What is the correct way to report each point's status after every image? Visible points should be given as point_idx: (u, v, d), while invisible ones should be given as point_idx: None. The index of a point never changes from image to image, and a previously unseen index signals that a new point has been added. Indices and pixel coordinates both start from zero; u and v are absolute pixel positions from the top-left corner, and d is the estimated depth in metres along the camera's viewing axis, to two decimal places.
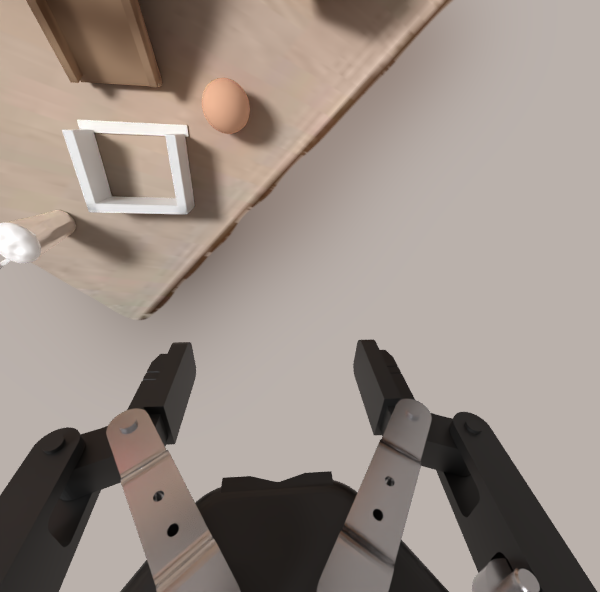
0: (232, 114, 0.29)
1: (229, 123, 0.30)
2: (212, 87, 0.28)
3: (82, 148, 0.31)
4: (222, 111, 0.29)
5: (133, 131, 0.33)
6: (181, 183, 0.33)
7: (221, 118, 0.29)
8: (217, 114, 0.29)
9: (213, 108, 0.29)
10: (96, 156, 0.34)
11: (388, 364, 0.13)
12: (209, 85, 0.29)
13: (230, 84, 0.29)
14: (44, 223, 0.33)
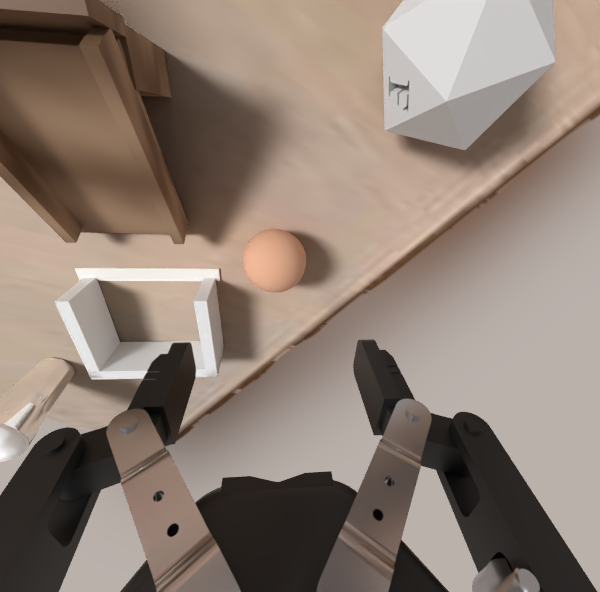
0: (286, 282, 0.21)
1: (281, 289, 0.22)
2: (262, 251, 0.21)
3: (82, 313, 0.23)
4: (274, 281, 0.21)
5: (149, 277, 0.25)
6: (212, 347, 0.25)
7: (271, 286, 0.22)
8: (266, 283, 0.21)
9: (261, 277, 0.21)
10: (101, 308, 0.26)
11: (388, 364, 0.13)
12: (256, 246, 0.21)
13: (285, 246, 0.21)
14: (32, 399, 0.25)
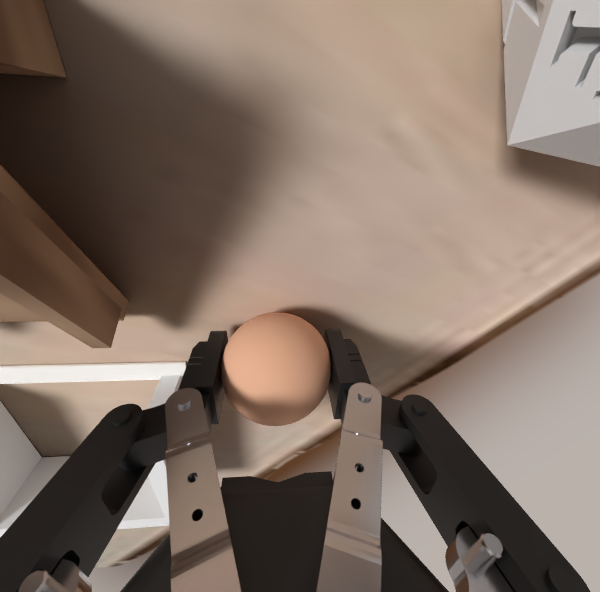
0: (298, 417, 0.12)
1: (287, 423, 0.12)
2: (252, 369, 0.11)
3: None
4: (275, 419, 0.11)
5: (72, 377, 0.16)
6: None
7: (270, 424, 0.12)
8: (261, 421, 0.12)
9: (252, 413, 0.11)
10: None
11: (351, 352, 0.13)
12: (242, 358, 0.11)
13: (296, 358, 0.11)
14: None
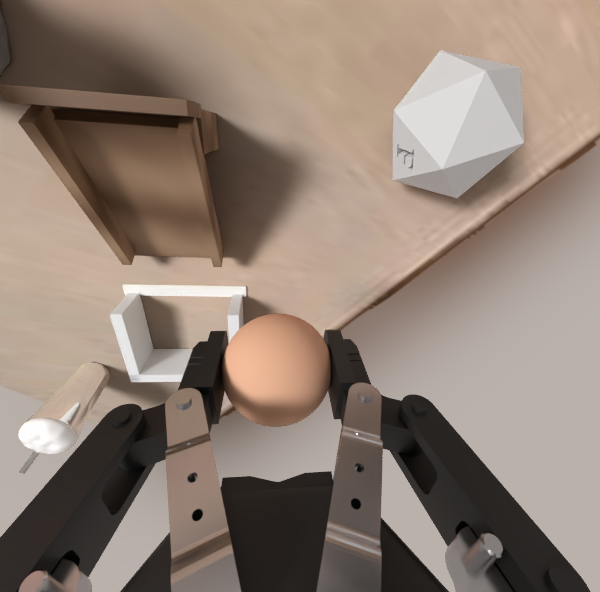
0: (299, 418, 0.12)
1: None
2: (253, 370, 0.11)
3: (130, 324, 0.27)
4: (276, 420, 0.11)
5: (185, 293, 0.29)
6: None
7: (271, 425, 0.12)
8: (262, 422, 0.12)
9: (253, 414, 0.11)
10: (141, 319, 0.29)
11: (351, 352, 0.13)
12: (243, 359, 0.11)
13: (296, 359, 0.11)
14: (80, 399, 0.29)
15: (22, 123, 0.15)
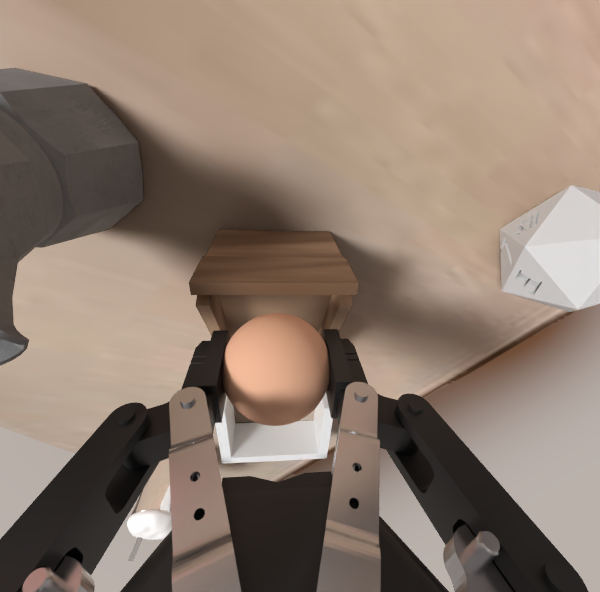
0: (298, 417, 0.12)
1: (287, 423, 0.12)
2: (253, 370, 0.11)
3: (227, 415, 0.28)
4: (275, 419, 0.11)
5: None
6: (328, 439, 0.30)
7: (270, 424, 0.12)
8: (261, 421, 0.12)
9: (252, 413, 0.11)
10: (231, 403, 0.30)
11: (348, 351, 0.13)
12: (243, 358, 0.11)
13: (296, 358, 0.11)
14: None
15: (197, 303, 0.15)
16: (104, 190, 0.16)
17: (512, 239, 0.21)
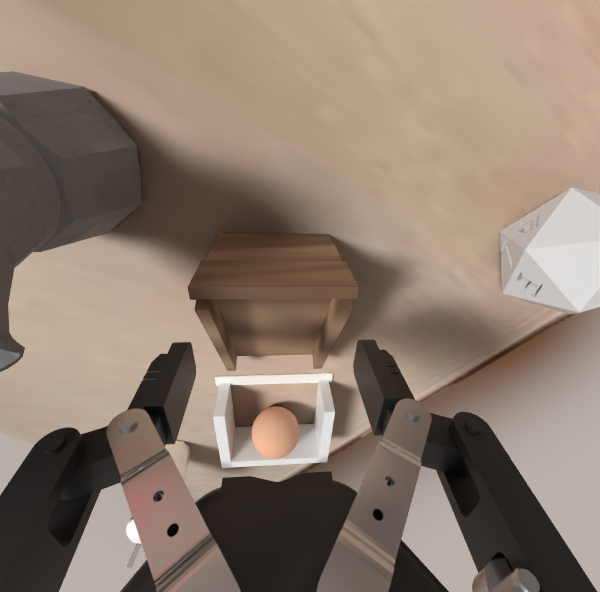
0: None
1: (279, 408, 0.30)
2: None
3: (227, 419, 0.28)
4: (274, 406, 0.31)
5: (274, 381, 0.30)
6: (329, 442, 0.29)
7: (272, 407, 0.31)
8: (269, 407, 0.31)
9: None
10: (231, 407, 0.30)
11: (388, 364, 0.13)
12: None
13: None
14: None
15: (195, 308, 0.15)
16: (102, 194, 0.16)
17: (512, 241, 0.21)
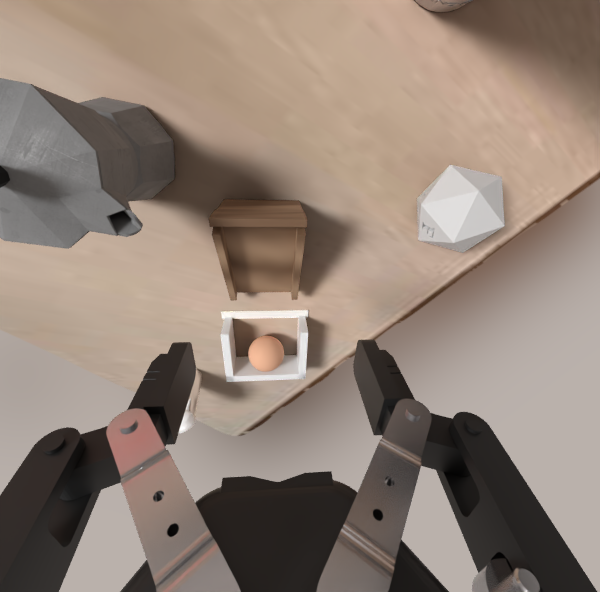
0: None
1: (269, 336, 0.41)
2: None
3: (230, 340, 0.38)
4: None
5: (264, 316, 0.40)
6: (305, 360, 0.40)
7: None
8: None
9: None
10: (233, 336, 0.40)
11: (388, 364, 0.13)
12: None
13: None
14: (192, 394, 0.40)
15: (212, 234, 0.25)
16: (155, 169, 0.26)
17: (419, 202, 0.31)
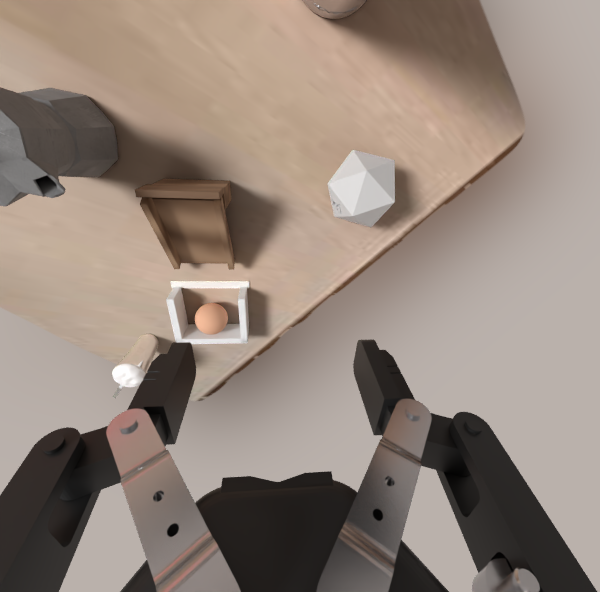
0: None
1: (214, 303, 0.46)
2: None
3: (177, 306, 0.43)
4: None
5: (210, 286, 0.45)
6: (245, 325, 0.45)
7: None
8: None
9: None
10: (182, 303, 0.46)
11: (388, 364, 0.13)
12: None
13: None
14: (144, 354, 0.45)
15: (140, 204, 0.30)
16: (95, 149, 0.31)
17: None
